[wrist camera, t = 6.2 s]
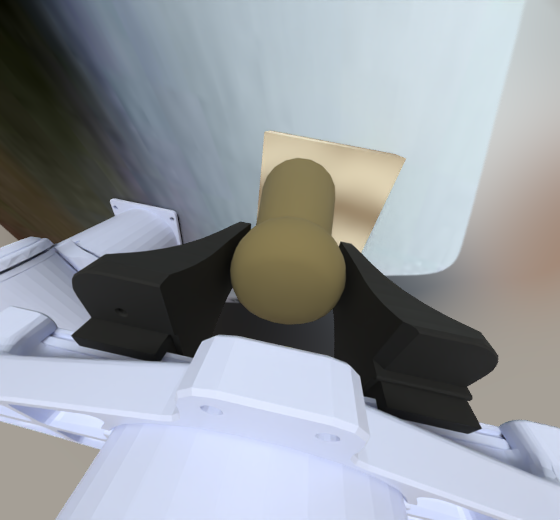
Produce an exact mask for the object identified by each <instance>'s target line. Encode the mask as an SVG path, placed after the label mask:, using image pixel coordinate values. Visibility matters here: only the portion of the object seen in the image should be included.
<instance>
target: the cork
mask: <svg viewBox="0 0 560 520" xmlns="http://www.w3.org/2000/svg"><path fill="white" fill-rule="evenodd" d="M334 207H335V185H334V183H333V180H332V178H331V175H330V174H329V173H328V172H327V170H326V169H325V168H324V167H323V166H322V165H320V164H318V163H316V162H314V161H313V160H310V159H303V158H295V159H290V160H285V161H284V162H282V163H280V164H279V165H277V166H275V167H274V168H273V170H272V171H271V172H270V173H269V174H268V176H267V178H266V180H265V183H264V186H263V189H262V195H261V200H260V206H259V212H258V217H257V223H256V226H255V227H254V228H252V229H251V230H250V231H249V232H248V233H247V234H246V235H245V236H244V237H243V238H242V240H241V241H240V242H239V244H238V246H237V248H236V250H235V253H234V255H233V258H232V261H231V268H230V274H231V284H232V286H233V289H234V292H235V294H236V296H237V298H238V300H239V302H240V303H241V304H243V306H244V307H246V309H247V310H249V311H250V312H252V313H253V314H255V315H257V316H258V317H260V318H263V319H266V320H269V321H271V322H275V323H281V324H303V323H307V322H312V321H315V320H317V319H319V318H321V317H323V316H325V315H326V314H327V313H329V312H330V311H331V310H332V309H333V308H334V307H335V305H336V304H337V302H338V301H339V299H340V297H341V295H342V293H343V290H344V287H345V282H346V265H345V261H344V257H343V255H342V253H341V251H340V248H339V246H338V244H337V242H336V241H335V240H334V238H333V237H332V226H333V216H334Z"/></svg>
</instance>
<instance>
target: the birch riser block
mask: <svg viewBox="0 0 560 520" xmlns="http://www.w3.org/2000/svg"><path fill="white" fill-rule="evenodd" d="M295 158H303V159H310V160H313V161H314V162H316V163H318V164H320V165H322V166H323V167H324V168H325V169H326V170H327V172H328V173H329V174H330V175H331V178H332V180H333V183H334V185H335V207H334V216H333V226H332V237H333V238H334V240H335V241H336V242H337V244H338V246H339V244H340V241H341V242H346V243H351V244H352V245H354V246H355V247H356V248H357V249H358V250H359V251H360V252H362V250H363V248H364V245H365V243H366V241H367V239H368V237H369V235H370V233H371V231H372V229H373V227H374V225H375V222H376V220H377V218H378V216H379V214H380V212H381V210H382V208H383V206H384V204H385V202H386V199H387V197H388V195H389V193H390V191H391V189H392V187H393V185H394V183H395V181H396V179H397V177H398V174H399V172H400V170H401V168H402V166H403V164H404V162H405V160H406V158H403V157H401V156H398V155H396V154H392V153H386V152H381V151H376V150H370V149H365V148H360V147H355V146H349V145H344V144H339V143H334V142H328V141H323V140H318V139H312V138H307V137H302V136H297V135H291V134H286V133H281V132H275V131H266V132H264V144H263V155H262V167H261V179H260V190H259V202H258V212H259V206H260V200H261V195H262V189H263V186H264V183H265V180H266V178H267V176H268V174H269V173H270V172H271V171H272V170H273V168H274V167H275V166H277V165H279V164H280V163H282V162H284V161H285V160H290V159H295ZM257 217H258V213H257Z"/></svg>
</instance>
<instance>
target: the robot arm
mask: <svg viewBox="0 0 560 520" xmlns="http://www.w3.org/2000/svg"><path fill="white" fill-rule="evenodd" d="M110 203H111V206H112V209H113V211H114V214H115V216H114V217H112V218H110V219H108V220H106V221H104V222H102V223H100V224H98V225H96V226H93V227H91V228H89V229H87V230H85V231H83V232H81V233H79V234H77V235H75V236H73V237H70V238H68V239H66V240H64V241H62V242H60V243H57V244H54V245H53V243H52V242H51V241H50V240H49V239H47V238H42V239H41V238H37V237H28V238H25V239H22V240H19V241H17V242H14V243H11V244H9V245H6V246H3V247H1V248H0V421H1V422H5V423H9V424H12V425H16V426H20V427H23V428H27V429H31V430H34V431H37V432H41V433H45V434H48V435H52V436H55V437H58V438H62V439H66V440H69V441H72V442H76V443H79V444H83V445H86V446H90V447H93V448H97V449H100V452H99V453H98V455H97V456H96V458H95V459H94V461H93V462H92V464H91V465H90V467H89V468H88V470H87V472H86V473H85V475H84V476H83V478H82V479H81V481H80V482H79V484H78V485H77V487H76V488H75V490H74V492H73V493H72V495H71V496H70V498H69V499H68V501H67V502H66V504H65V505H64V507H63V509H62V510H61V511H60V513H59V514H58V516H57V518H56V519H55V520H560V428H558V427H555V426H550V425H546V424H541V423H537V422H532V421H528V420H512V421H508V422H505V423H503V424H501V425H500V426H499V427H497V426H493V425H489V424H484V423H480V422H478V420H477V418H476V416H475V415H474V413H473V411H472V409H471V407H470V405H469V403H468V402H467V401H470V400H472V395H471V393H470V391H469V390H468V388H467V386H469V385H471V384H472V383H474V382H476V381H477V380H479V379H481V378H482V377H484V376H486V375H487V374H489V373H490V372H491V371H493V370H494V368H495V367H496V365H497V363H498V355H497V353H496V352H495V350H494V349H493V348H492V346H491V345H490V344H489V343H488V341H487V340H486V339H485V337H484V336H483V335H482V333H481V332H479V331H477V330H475V329H473V328H471V327H469V326H466V325H464V324H462V323H460V322H458V321H456V320H454V319H452V318H450V317H448V316H446V315H444V314H442V313H440V312H439V311H437V310H435V309H433V308H431V307H429V306H428V305H426V304H424V303H423V302H421V301H419V300H418V299H416V298H415V297H413V296H411V295H410V294H408V293H407V292H405V291H404V290H402V289H401V288H400V287H398V286H397V285H396V284H394V283H393V282H392V281H390V280H389V279H388V278H387V277H386V276H384V275H383V274H382V273H381V272H380V271H379V270H378V269H377V268H376V267H374V266H373V265H372V264H371V263H370V262H369V261H368V260H367V259H366V258H365V257H364V256H363V254H362V253H361V252H360V251H359V250H358V249H357V248H356V247H355V246H354V245H352V244H351V243H346V242H341V241H340V244H339V248H340V251H341V253H342V255H343V257H344V261H345V265H346V282H345V287H344V290H343V293H342V295H341V297H340V299H339V301H338V302H337V304H336V305H335V307H334V308H333V314H334V333H335V334H334V336H335V344H334V345H335V348H334V355H335V356H334V358H333V357H330V356H326V355H322V354H317V353H313V352H308V351H304V350H299V349H294V348H290V347H285V346H280V345H276V344H272V343H266V342H262V341H258V340H253V339H249V338H244V337H240V336H229V335H217V336H214V337H212V334H213V332H214V329H215V326H216V323H217V321H218V318H219V316H220V314H221V311H222V309H223V306H224V304H225V301H226V299H227V297H228V295H229V293H230V291H231V289H232V288H233V286H232V284H231V274H230V268H231V261H232V258H233V255H234V253H235V250H236V248H237V246H238V244H239V242H240V241H241V240H242V238H243V237H244V236H245V235H246V234H247V233H248V232H249V231H250V230H251V224H250V223H245V222H239V223H236V224H234V225H232V226H230V227H228V228H226V229H223V230H221V231H219V232H217V233H214V234H212V235H209V236H207V237H205V238H202V239H199V240H196V241H193V242H189V243H186V244H182V241H181V235H180V229H179V223H178V217H177V213H176V212H175V211H173V210H169V209H164V208H159V207H154V206H149V205H144V204H139V203H134V202H129V201H125V200H120V199H111V200H110ZM172 218H174V220H173V219H172ZM211 337H212V338H211Z"/></svg>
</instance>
